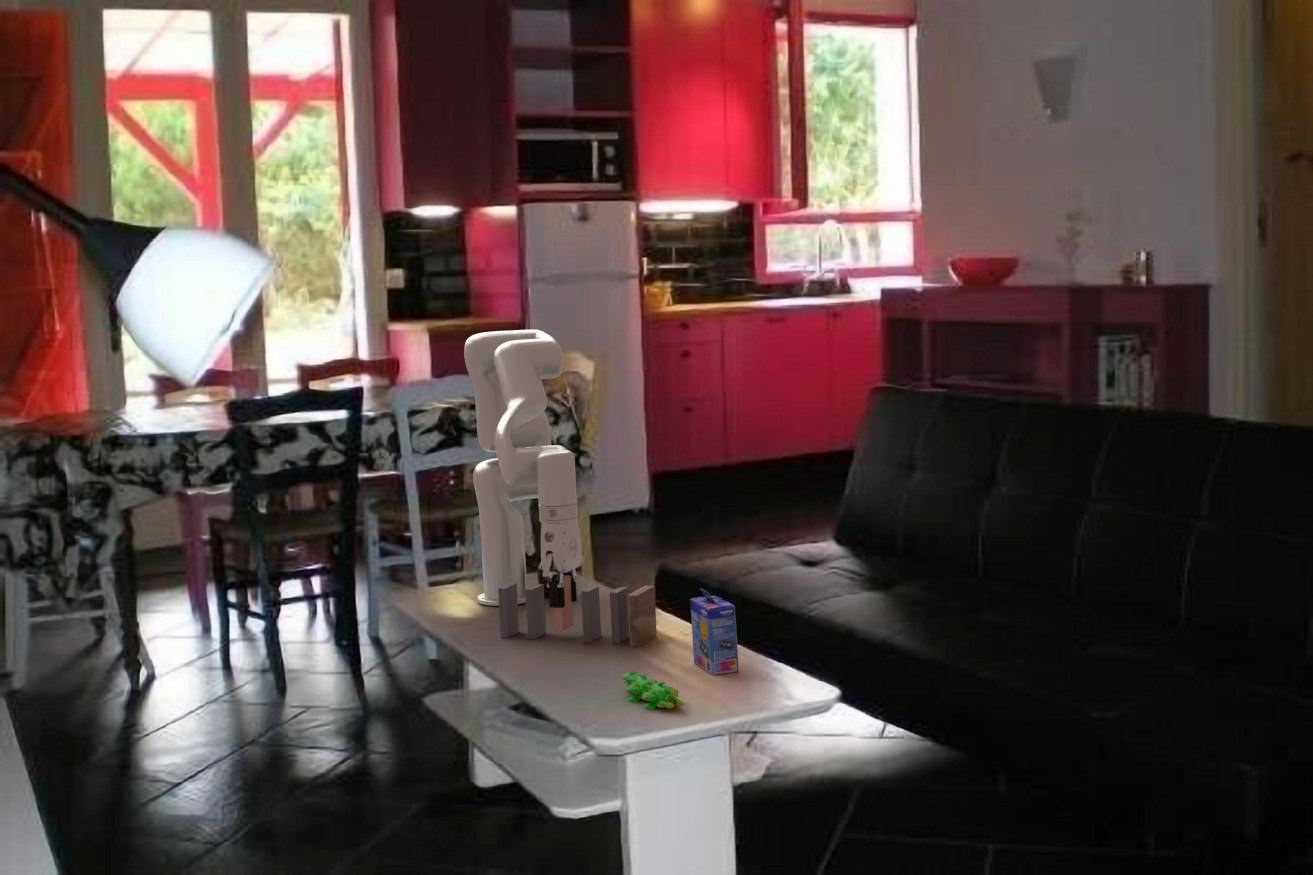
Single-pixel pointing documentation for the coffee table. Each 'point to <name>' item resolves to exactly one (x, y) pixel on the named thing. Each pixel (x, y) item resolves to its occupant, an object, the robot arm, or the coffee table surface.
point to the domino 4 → (591, 613)
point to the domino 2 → (535, 611)
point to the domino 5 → (619, 614)
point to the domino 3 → (564, 614)
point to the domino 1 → (508, 610)
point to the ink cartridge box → (714, 634)
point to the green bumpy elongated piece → (650, 691)
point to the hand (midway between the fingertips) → (563, 603)
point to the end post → (642, 616)
